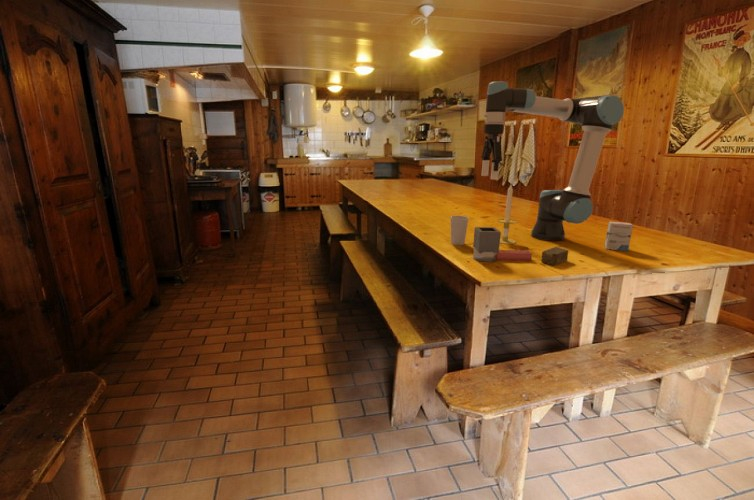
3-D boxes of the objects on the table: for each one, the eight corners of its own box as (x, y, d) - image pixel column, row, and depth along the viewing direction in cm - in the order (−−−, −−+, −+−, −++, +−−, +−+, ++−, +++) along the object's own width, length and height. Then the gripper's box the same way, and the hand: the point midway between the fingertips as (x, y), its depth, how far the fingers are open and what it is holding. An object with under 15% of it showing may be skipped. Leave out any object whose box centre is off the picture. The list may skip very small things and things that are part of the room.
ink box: (625, 248, 178) (630, 222, 174) (628, 251, 173) (633, 225, 170) (604, 246, 180) (608, 221, 177) (606, 249, 176) (610, 223, 172)
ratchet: (524, 255, 165) (527, 235, 162) (533, 262, 156) (536, 241, 154) (470, 255, 164) (472, 235, 162) (476, 262, 156) (478, 240, 153)
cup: (466, 246, 177) (468, 219, 174) (448, 244, 179) (450, 218, 175) (466, 241, 185) (468, 216, 181) (449, 240, 186) (450, 215, 183)
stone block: (539, 262, 156) (541, 250, 155) (554, 257, 164) (555, 245, 162) (554, 266, 152) (555, 254, 151) (568, 261, 159) (570, 249, 158)
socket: (492, 246, 163) (494, 227, 160) (498, 252, 155) (500, 232, 153) (473, 246, 163) (474, 227, 160) (478, 251, 155) (480, 231, 153)
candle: (492, 238, 192) (498, 181, 184) (514, 239, 190) (521, 182, 182) (494, 243, 182) (500, 184, 175) (517, 244, 181) (524, 185, 173)
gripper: (476, 124, 171) (472, 174, 177) (494, 122, 147) (488, 180, 153) (494, 124, 171) (489, 174, 177) (514, 123, 147) (508, 181, 153)
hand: (489, 177), depth 165 cm, fingers open, 13 cm apart
